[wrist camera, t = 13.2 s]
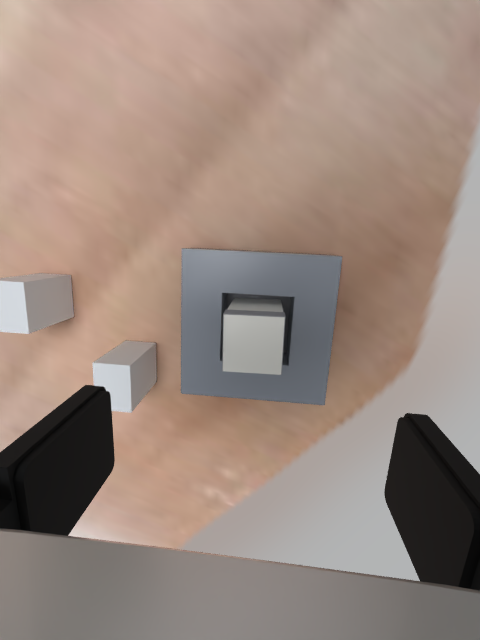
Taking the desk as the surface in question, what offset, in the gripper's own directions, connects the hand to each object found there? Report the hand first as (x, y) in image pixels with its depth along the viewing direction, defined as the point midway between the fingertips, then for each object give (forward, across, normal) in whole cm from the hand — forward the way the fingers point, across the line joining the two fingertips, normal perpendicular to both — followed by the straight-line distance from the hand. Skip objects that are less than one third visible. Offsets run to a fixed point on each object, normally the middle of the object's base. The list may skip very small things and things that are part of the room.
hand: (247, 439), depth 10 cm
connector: (+18, 0, +1) cm, 18 cm away
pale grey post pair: (+19, +16, +3) cm, 25 cm away
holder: (+19, 0, +1) cm, 19 cm away
